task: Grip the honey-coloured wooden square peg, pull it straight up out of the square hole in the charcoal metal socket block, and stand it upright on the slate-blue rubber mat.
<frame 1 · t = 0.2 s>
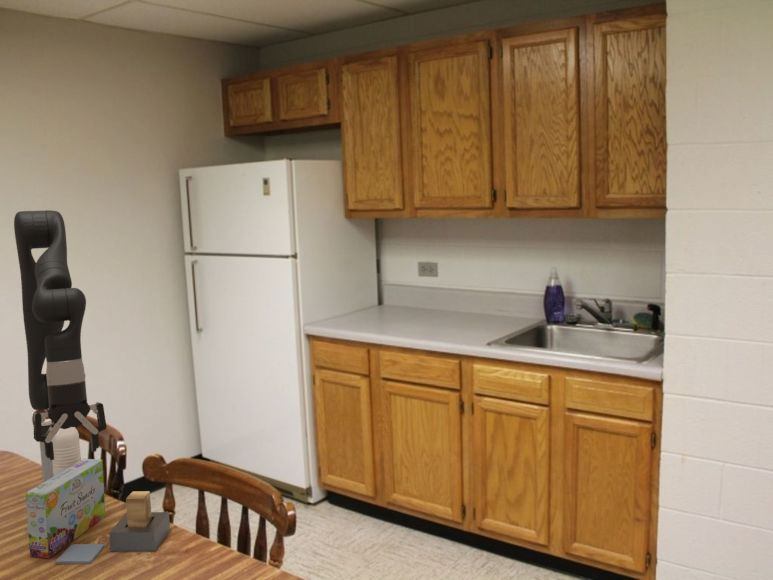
hand: (72, 455, 155), 23 cm above the table, tool pointing down, fingers open, 8 cm apart
square peg: (139, 517, 163), in the socket block
socket block: (141, 540, 163), on the table
snack box: (70, 536, 167), on the table
rubber mat: (81, 555, 157), on the table
water bottle: (66, 514, 178), on the table
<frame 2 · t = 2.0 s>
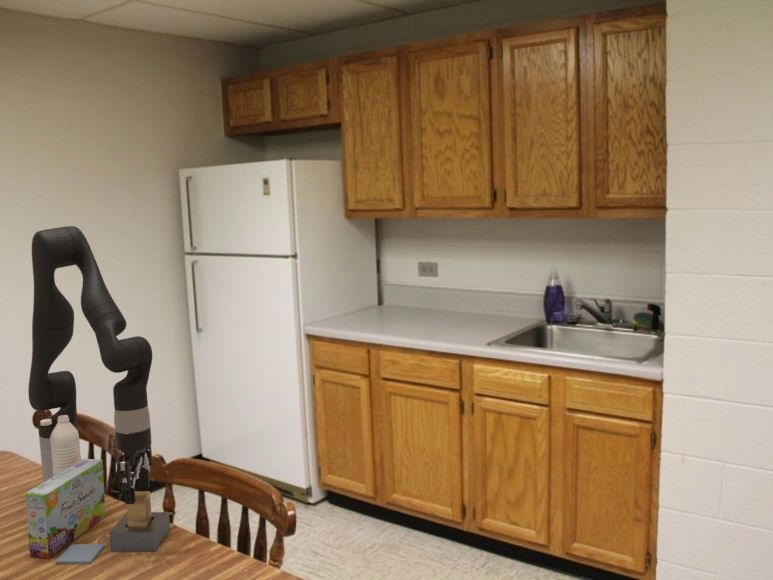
hand: (137, 495, 162), 11 cm above the table, tool pointing down, fingers open, 8 cm apart
nothing on the table moved.
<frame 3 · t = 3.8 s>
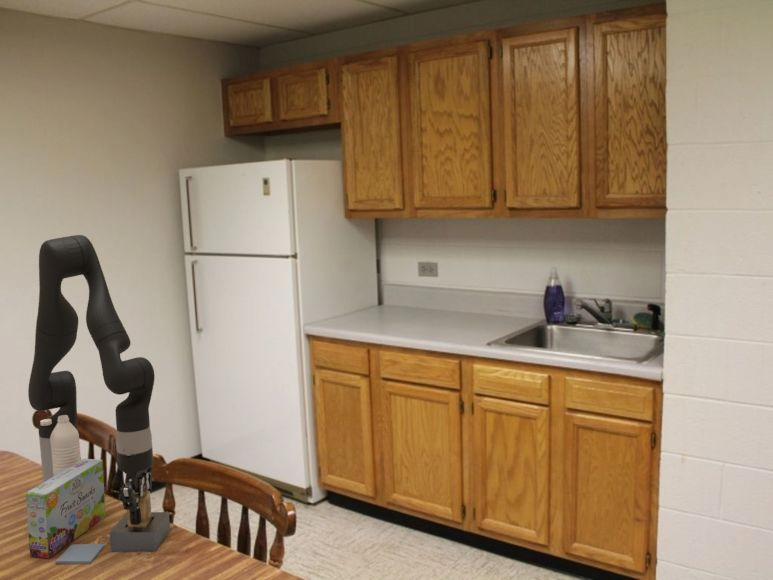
hand: (139, 518, 163), 5 cm above the table, tool pointing down, fingers closed on square peg, 4 cm apart
square peg: (139, 517, 163), in the socket block, touching gripper
everything else where it was.
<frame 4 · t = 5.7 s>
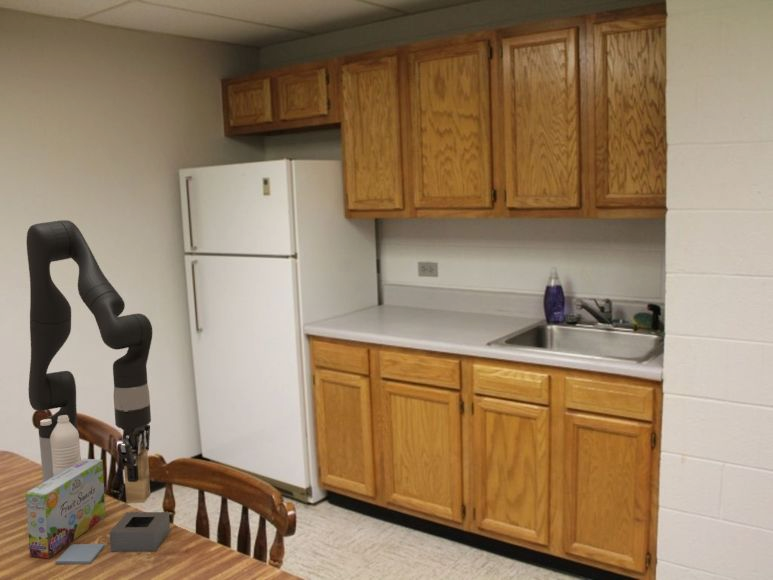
hand: (137, 476, 161), 15 cm above the table, tool pointing down, fingers closed on square peg, 4 cm apart
square peg: (137, 475, 161), point 16 cm above the table, touching gripper
everything else where it was.
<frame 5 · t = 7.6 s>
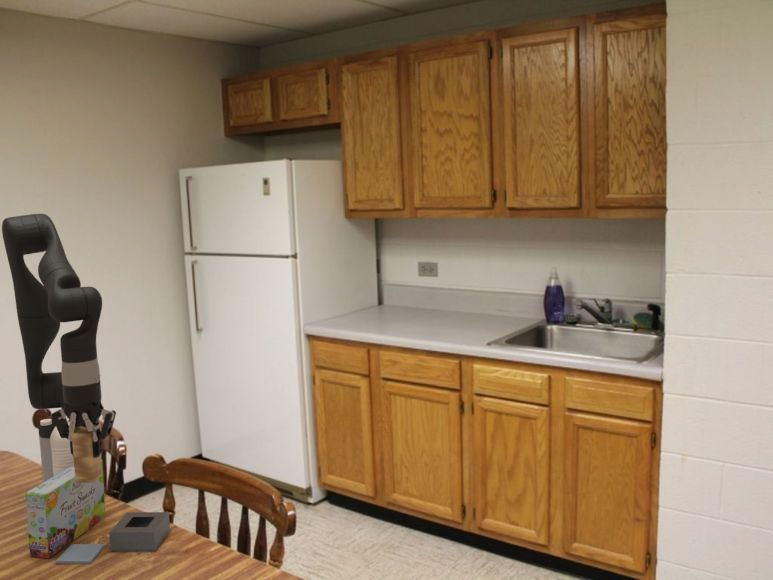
hand: (87, 456, 156), 22 cm above the table, tool pointing down, fingers closed on square peg, 4 cm apart
square peg: (87, 454, 156), point 22 cm above the table, touching gripper
everything else where it was.
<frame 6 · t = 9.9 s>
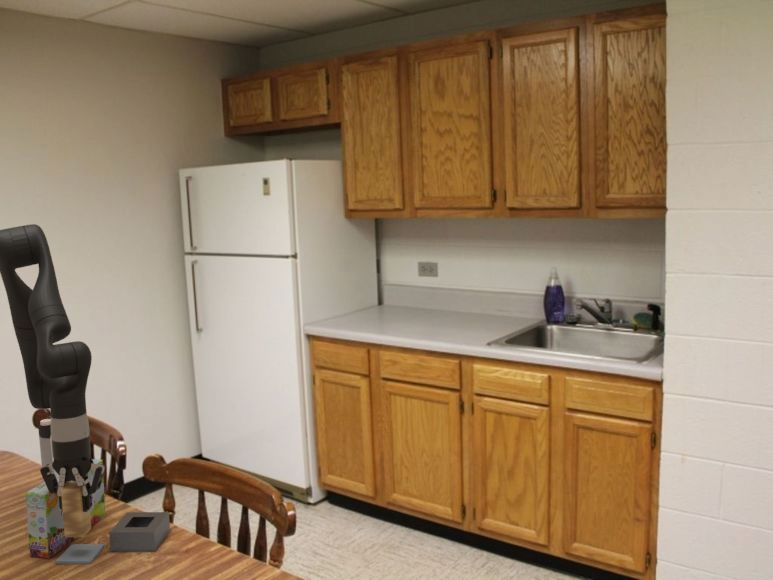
hand: (76, 510, 156), 11 cm above the table, tool pointing down, fingers closed on square peg, 4 cm apart
square peg: (76, 509, 156), point 11 cm above the table, touching gripper
everything else where it was.
when the fingers open (7 cm above the table, at t = 11.4 s): square peg drops 1 cm, resting on rubber mat.
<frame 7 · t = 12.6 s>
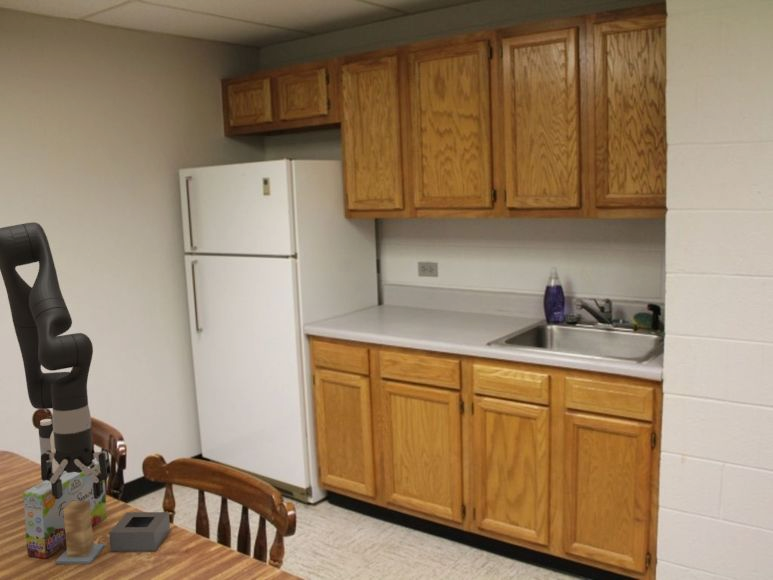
hand: (78, 497, 156), 13 cm above the table, tool pointing down, fingers open, 8 cm apart
square peg: (78, 529, 156), on the rubber mat, point 6 cm above the table
everything else where it was.
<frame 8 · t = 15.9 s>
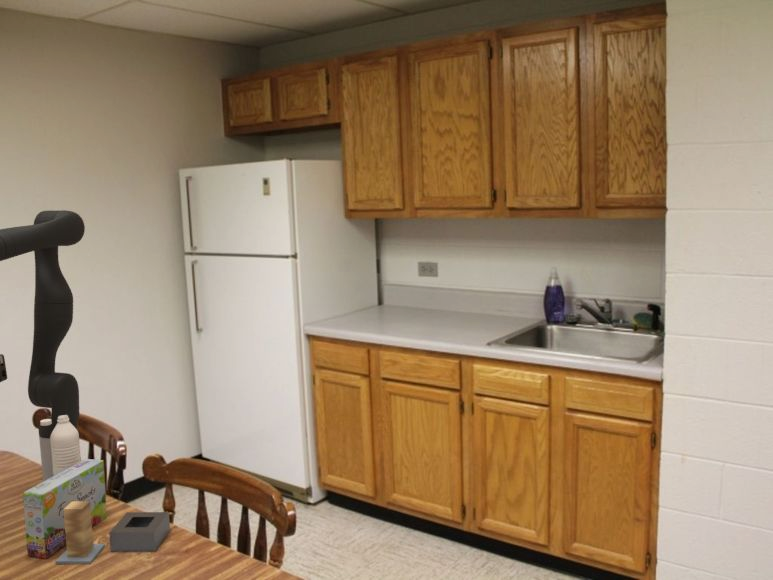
nothing on the table moved.
at the end: square peg inside the target area on the rubber mat (0.0 cm from its centre), point 6.1 cm above the rubber mat's base; square peg tilted 0°; the gripper is holding nothing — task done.
